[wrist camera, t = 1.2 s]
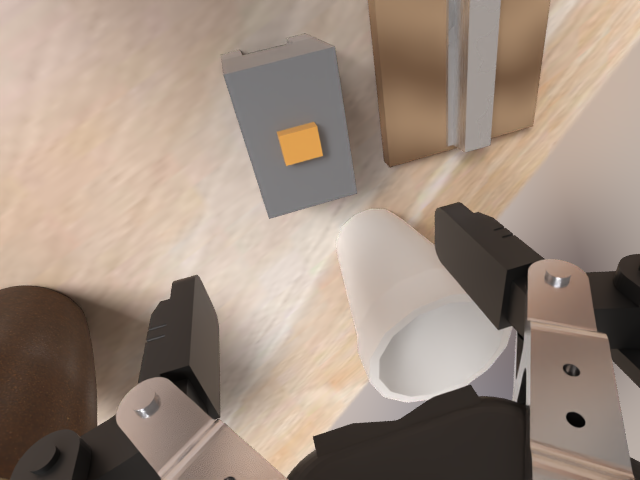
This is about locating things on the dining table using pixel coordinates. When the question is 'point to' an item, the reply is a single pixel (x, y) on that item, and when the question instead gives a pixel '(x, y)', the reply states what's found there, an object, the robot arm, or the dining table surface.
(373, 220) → the foam cup
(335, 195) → the block
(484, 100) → the rail
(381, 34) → the board
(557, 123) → the dining table surface
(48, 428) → the plant pot
